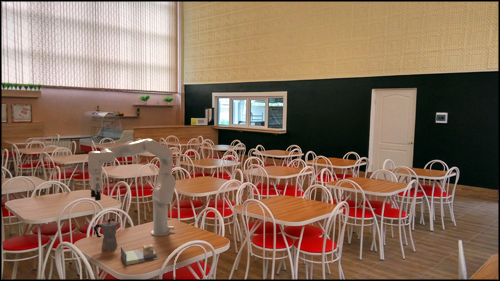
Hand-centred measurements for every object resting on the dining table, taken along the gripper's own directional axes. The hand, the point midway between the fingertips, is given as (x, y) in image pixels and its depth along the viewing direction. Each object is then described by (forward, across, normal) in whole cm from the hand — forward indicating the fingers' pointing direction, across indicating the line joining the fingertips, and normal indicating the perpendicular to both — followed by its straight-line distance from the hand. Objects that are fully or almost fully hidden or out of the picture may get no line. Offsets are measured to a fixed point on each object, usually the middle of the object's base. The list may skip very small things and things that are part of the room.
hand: (95, 198), depth 229 cm
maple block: (+28, -34, -20) cm, 48 cm away
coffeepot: (+30, -9, -4) cm, 31 cm away
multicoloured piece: (+30, -33, -15) cm, 47 cm away
